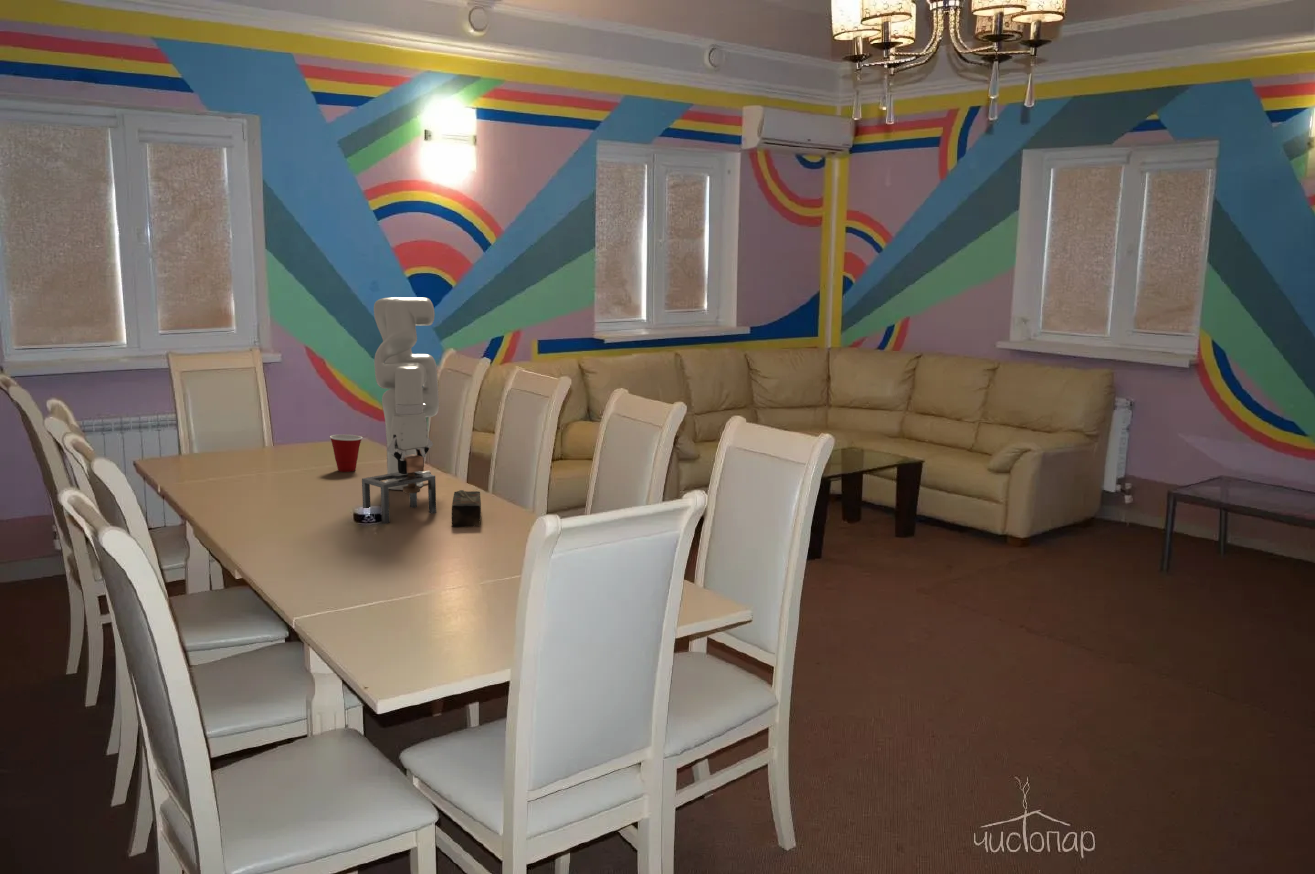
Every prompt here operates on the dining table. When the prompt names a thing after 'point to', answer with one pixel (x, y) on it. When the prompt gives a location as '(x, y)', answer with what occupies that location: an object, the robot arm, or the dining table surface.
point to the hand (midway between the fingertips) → (411, 471)
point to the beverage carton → (466, 509)
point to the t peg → (413, 471)
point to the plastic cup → (346, 451)
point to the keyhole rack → (405, 480)
